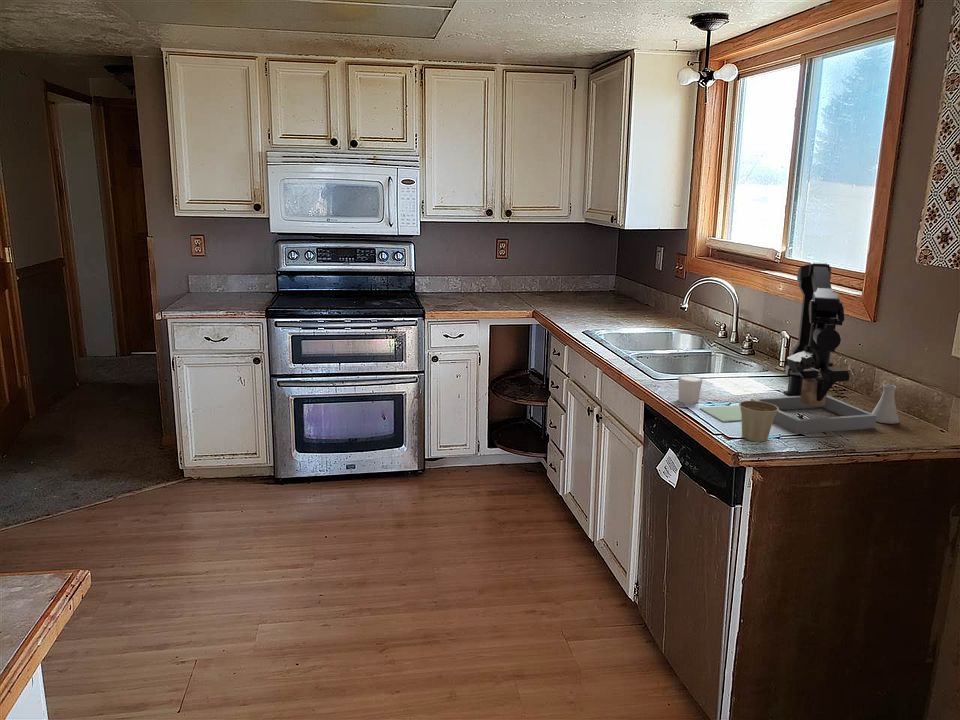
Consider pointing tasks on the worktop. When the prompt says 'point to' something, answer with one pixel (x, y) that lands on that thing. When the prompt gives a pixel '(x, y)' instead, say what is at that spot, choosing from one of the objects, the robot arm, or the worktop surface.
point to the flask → (887, 406)
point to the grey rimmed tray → (848, 420)
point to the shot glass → (689, 389)
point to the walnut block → (810, 393)
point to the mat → (724, 413)
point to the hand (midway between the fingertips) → (813, 398)
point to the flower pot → (757, 419)
